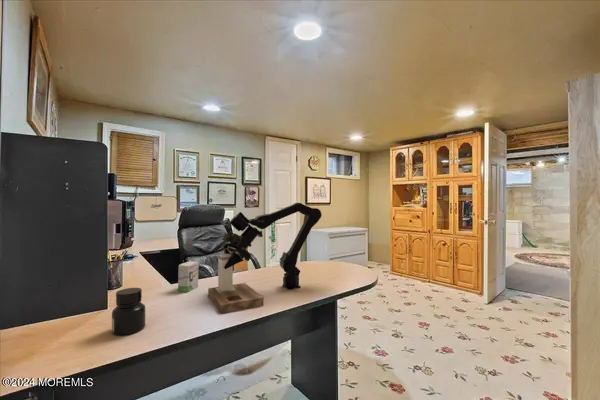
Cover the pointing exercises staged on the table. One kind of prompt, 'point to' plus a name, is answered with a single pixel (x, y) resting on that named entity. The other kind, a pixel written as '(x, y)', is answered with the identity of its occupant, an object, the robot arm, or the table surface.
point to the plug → (224, 273)
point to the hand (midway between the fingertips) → (222, 267)
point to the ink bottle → (128, 312)
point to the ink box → (187, 276)
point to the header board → (235, 298)
